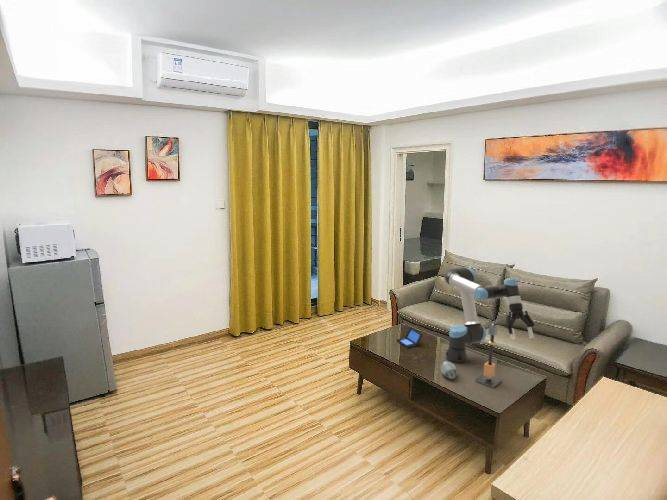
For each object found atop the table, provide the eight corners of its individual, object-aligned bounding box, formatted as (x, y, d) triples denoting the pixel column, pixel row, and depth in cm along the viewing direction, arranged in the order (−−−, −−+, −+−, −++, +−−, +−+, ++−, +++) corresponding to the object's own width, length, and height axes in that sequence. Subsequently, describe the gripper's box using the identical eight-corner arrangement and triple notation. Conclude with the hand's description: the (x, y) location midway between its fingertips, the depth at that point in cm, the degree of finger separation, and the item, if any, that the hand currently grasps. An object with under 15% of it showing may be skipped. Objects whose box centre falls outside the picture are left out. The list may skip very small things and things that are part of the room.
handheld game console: (396, 341, 321) (396, 329, 319) (410, 338, 327) (410, 327, 325) (407, 349, 307) (408, 337, 305) (422, 345, 313) (422, 334, 311)
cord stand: (475, 381, 260) (479, 323, 253) (483, 374, 269) (488, 318, 261) (493, 388, 252) (499, 328, 244) (501, 381, 261) (507, 323, 253)
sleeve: (483, 375, 260) (484, 363, 258) (486, 372, 263) (487, 361, 262) (491, 378, 256) (492, 366, 255) (494, 375, 260) (495, 363, 258)
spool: (461, 376, 259) (453, 362, 260) (447, 383, 260) (440, 368, 261) (457, 371, 273) (450, 357, 274) (444, 377, 274) (437, 363, 275)
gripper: (502, 303, 245) (510, 339, 239) (535, 301, 253) (543, 336, 247) (494, 305, 252) (501, 340, 246) (526, 304, 259) (534, 338, 253)
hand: (522, 338), depth 246 cm, fingers open, 13 cm apart
